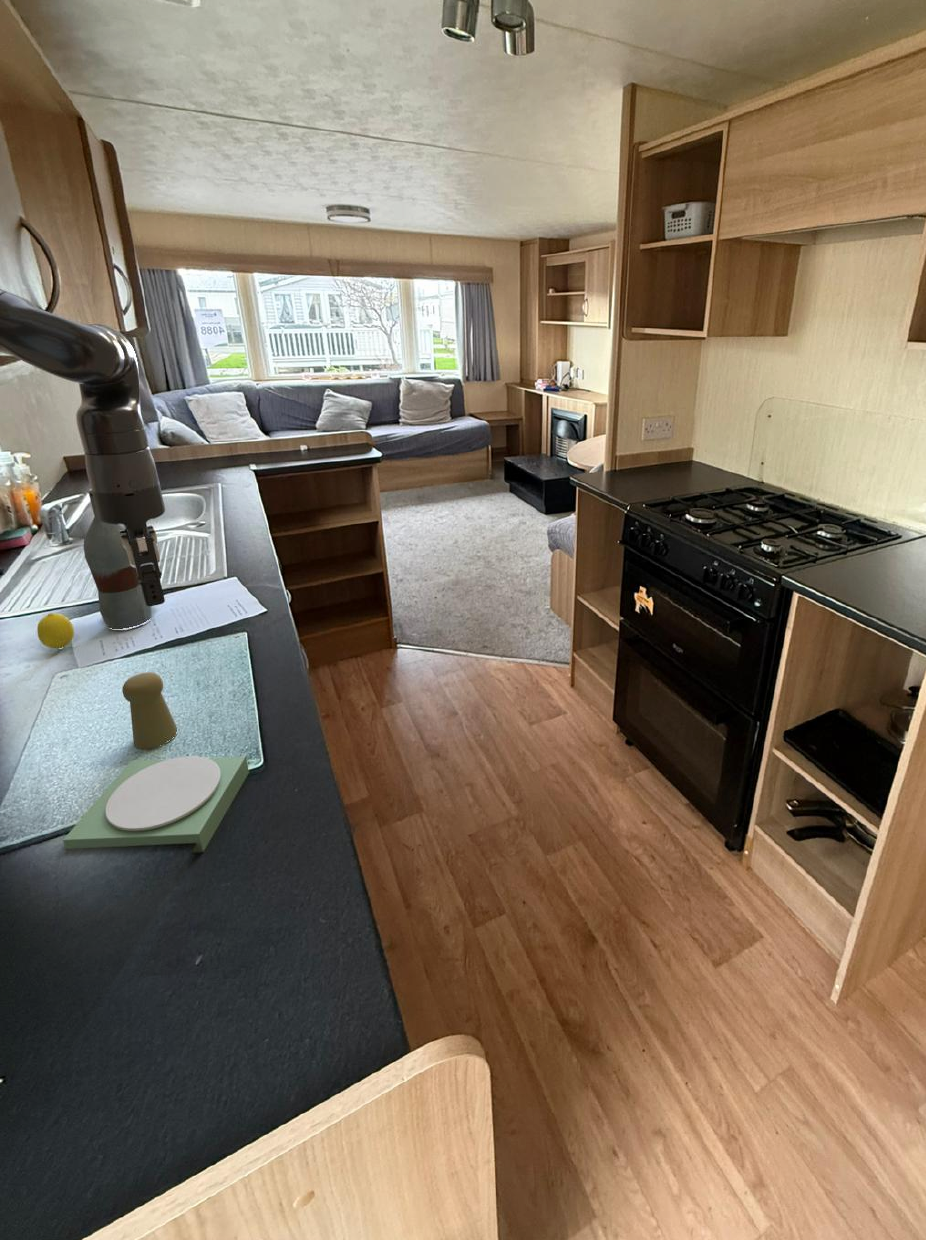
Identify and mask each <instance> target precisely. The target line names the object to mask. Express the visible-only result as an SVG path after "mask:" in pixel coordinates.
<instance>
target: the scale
mask: <svg viewBox="0 0 926 1240" xmlns="http://www.w3.org/2000/svg"><path fill="white" fill-rule="evenodd" d="M248 765H249V764H248V759H247V756H246V755H243V756H241V755H240V756H218V757H217V756H216V757H215V756H214V757H213V756H212V757H205V756H199V755H186V756H178V757H172V758H166V759H165V758H163V759H162V758H161V759H160V758H159V759H139V760H138V759H137V760H130V761H129V762H128V764H127V765H126V766H125V768H123V770H122V771H121V772H120V773H119V774H118V775H117V776H116V778H114V780H113V781H112V782H111V783H110V785H109V786H108V787H107V788H106V789H105V791H104V792H102V794H101V795H100V796H99V797H98V798H97V800H96V801H95V802H94V803H93V804H92V805H91V807H90V808H89V809H88V810H87V812H86V813H85V814H83V816H82V817H81V818H80V820H79V821H78V822H77V823H76V824H75V825H74V826H73V827H72V829H71V830H70V831H69V832H68V833H67V834H66V836H65V837H64V838H63V839H62V842H63V844H64V847H65V850H66V849H67V850H72V849H95V848H113V847H136V846H157V845H180V844H181V845H183V844H195V845H194V847H193V848H192V850H191V852H190V853H191V854H195V853H204V852H205V850H206V848H207V847H208V845H209V844H210V841H211V840H212V838H213V836H214V834H215V833H216V832H217V830H218V828H219V826H220V825H221V822H222V821H223V819H224V817H225V815H226V814H227V812H228V810H229V809H230V807H231V805H232V803H233V802H234V800H235V799H236V796H237V795H238V793H239V791H240V789H241V788H242V786H243V784H244V782H245V781H246V779H247V777H248V775H249V774H250V770H249V766H248Z"/></svg>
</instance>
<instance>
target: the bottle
mask: <svg viewBox="0 0 926 1240" xmlns="http://www.w3.org/2000/svg"><path fill="white" fill-rule="evenodd" d="M87 494H88V495H89V496H88V497H89V500H90V504H91V507H92V512H93V516H94V517H93V519H92V521H91V523H90V525H89V528H88V529H87V532H86V534H85V536H84V537H83V553H84V559H85V561H86V564H87V566H88V568H89V570H90V573H91V576H92V578H93V581H94V583H95V585H96V586H95V587H96V589H97V595H98V606H99V613H100V615H101V618H102V620H103V622H104V624H105V625H106V627H107V628H108V627H109V628H112V629H123V628H129V627H133V626H137V625H140V624H142V623H144V622H146V621H147V620H149V619H150V618H151V619H152V612H153V610H152V606H151V607H149V606H147V605H146V603H145V599H144V595H143V591H142V587H141V585H140V583H139V580H137V576H138V575H137V571H136V568H134V567H132V566H131V565H130V562H129V558H128V554H127V551H126V549H125V548H124V547H123V543H122V540H121V536H120V532H119V530H125V527H124V524H117V525H115V524H107V523H104V522H102V521H101V520H100V519H99V517H98V513H97V509H96V505H95V501H94V497H93V494H92V490H91V489H90V490H88V491H87ZM109 628H108V629H109Z"/></svg>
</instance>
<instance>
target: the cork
mask: <svg viewBox="0 0 926 1240" xmlns="http://www.w3.org/2000/svg"><path fill="white" fill-rule="evenodd" d="M121 688H122V695H123V697H124V699H125V700H126V701H127V702H129V708H130V716H131V718H130V719H131V728H132V729H131V730H132V740H133V746H134V748H136V749H138V750H140V751H141V750H143V751H145V750H146V749H147V750H148V749H149V750H153V749H152V748H154V749H156V748H155V747H157V748H159V747H158V746H160V745H163V744H165V743H166V742H167V741H169V740H171V739H172V738H173V737H174V736H175V735H176V732H177V728H178V726H177V723H176V722H175V720H174V718H173V717H174V716H173V715H172V713H171V711H170V709H169V707H168V704H167V702H166V700H165V698H164V696H163V693H162V691H163V690H164V682H163V679H162V677H161V676H160V674H157V673H156V672H148V671H147V672H140V673H137V674H135V675H132V676H131V677H129V678H128V679H127V680H125V682H124V684H123V685H122V687H121ZM176 736H177V735H176ZM171 741H172V740H171ZM165 745H166V744H165ZM163 746H164V745H163ZM160 747H161V746H160ZM147 750H146V751H147Z"/></svg>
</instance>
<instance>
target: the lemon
mask: <svg viewBox="0 0 926 1240" xmlns="http://www.w3.org/2000/svg"><path fill="white" fill-rule="evenodd" d="M36 630H37V631H36V633H37V637H38V639H39V641H40V643H41V644H42V645H44V646H45V647H47V648H50V649H57V648H62V647H64V646H65V647H66V646H67V645H69V644H70V643H71V642H72V641H73V639H74V635H75V628H74V626H73V623H72V622H71V620H70V619H69V618H68V617H67V616H66V615H64V614H61V613H53V612H50V613H48V614H47V615H46V616H44V617H42V618H41V620H40V621H38V624H37V629H36ZM65 647H64V648H65Z"/></svg>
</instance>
